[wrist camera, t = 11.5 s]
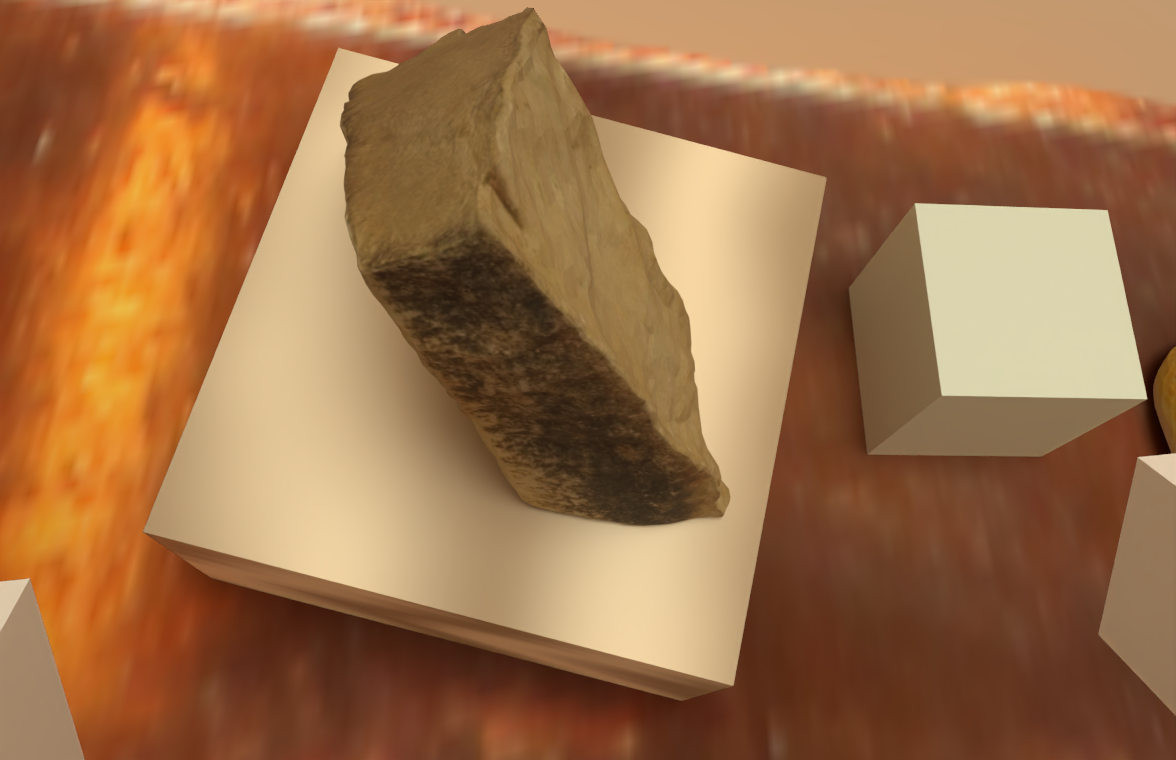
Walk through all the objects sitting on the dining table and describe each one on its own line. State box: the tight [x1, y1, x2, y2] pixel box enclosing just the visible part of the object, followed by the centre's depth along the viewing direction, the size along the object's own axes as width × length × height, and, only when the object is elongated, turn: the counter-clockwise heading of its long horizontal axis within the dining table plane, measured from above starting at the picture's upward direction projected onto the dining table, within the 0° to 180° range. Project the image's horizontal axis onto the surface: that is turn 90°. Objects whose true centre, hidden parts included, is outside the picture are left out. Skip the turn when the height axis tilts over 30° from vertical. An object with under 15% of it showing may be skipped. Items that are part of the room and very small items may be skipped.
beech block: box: [143, 48, 826, 701], centre depth 25 cm, size 12×12×6 cm
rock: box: [340, 8, 730, 526], centre depth 20 cm, size 11×9×10 cm
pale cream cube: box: [849, 203, 1147, 457], centre depth 27 cm, size 5×5×5 cm
